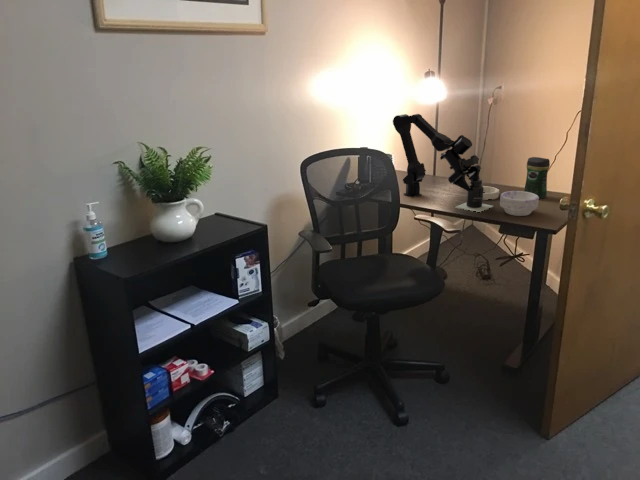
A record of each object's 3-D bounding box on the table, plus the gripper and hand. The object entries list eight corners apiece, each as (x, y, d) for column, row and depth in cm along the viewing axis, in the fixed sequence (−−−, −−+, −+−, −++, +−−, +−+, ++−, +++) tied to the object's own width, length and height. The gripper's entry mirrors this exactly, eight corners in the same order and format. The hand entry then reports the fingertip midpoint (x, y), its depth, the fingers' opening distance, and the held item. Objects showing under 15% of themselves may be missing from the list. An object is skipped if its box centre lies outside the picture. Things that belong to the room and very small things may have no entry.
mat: (455, 207, 233) (455, 206, 233) (469, 202, 240) (469, 201, 240) (479, 212, 225) (479, 211, 224) (493, 206, 232) (493, 205, 232)
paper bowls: (534, 220, 213) (536, 201, 210) (495, 215, 220) (497, 197, 217) (539, 210, 225) (541, 192, 223) (503, 206, 233) (504, 189, 230)
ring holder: (461, 195, 252) (462, 189, 251) (481, 190, 259) (482, 184, 258) (484, 201, 241) (484, 195, 240) (504, 196, 248) (505, 190, 247)
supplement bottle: (476, 209, 228) (478, 182, 224) (463, 206, 233) (464, 179, 229) (485, 205, 232) (487, 179, 228) (471, 203, 237) (473, 177, 233)
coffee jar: (548, 197, 244) (553, 157, 238) (539, 200, 240) (543, 160, 233) (530, 193, 251) (534, 155, 245) (520, 196, 247) (524, 157, 241)
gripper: (455, 153, 222) (477, 182, 218) (478, 146, 234) (499, 174, 230) (439, 168, 230) (459, 197, 226) (462, 162, 242) (481, 189, 238)
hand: (475, 189), depth 230 cm, fingers open, 9 cm apart
